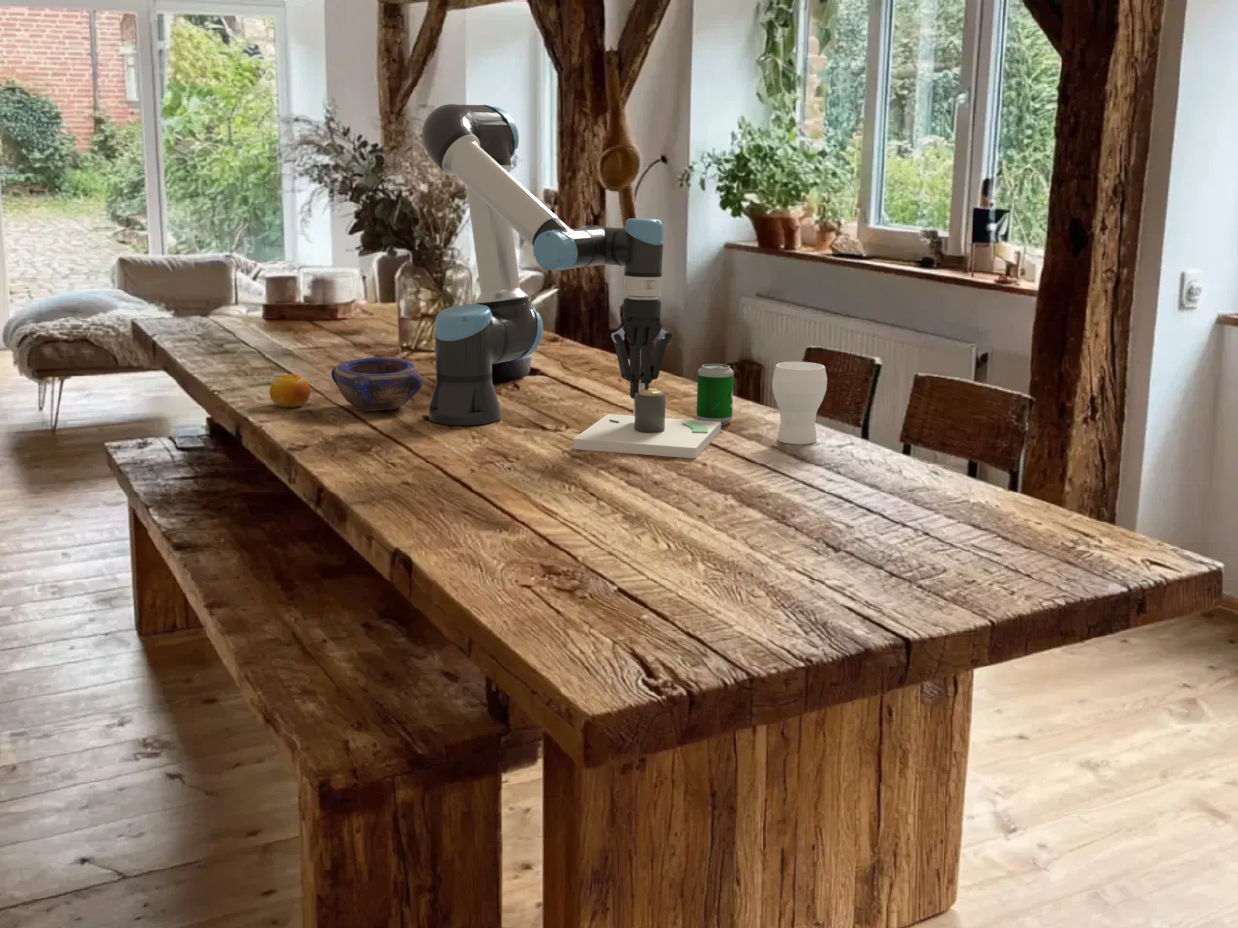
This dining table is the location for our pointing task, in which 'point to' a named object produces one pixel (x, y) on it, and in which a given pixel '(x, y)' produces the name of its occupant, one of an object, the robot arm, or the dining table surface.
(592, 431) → the dial plate
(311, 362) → the dining table surface
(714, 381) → the soda can
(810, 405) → the cup
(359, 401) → the bowl
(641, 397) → the grey cylinder with handle
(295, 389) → the fruit
